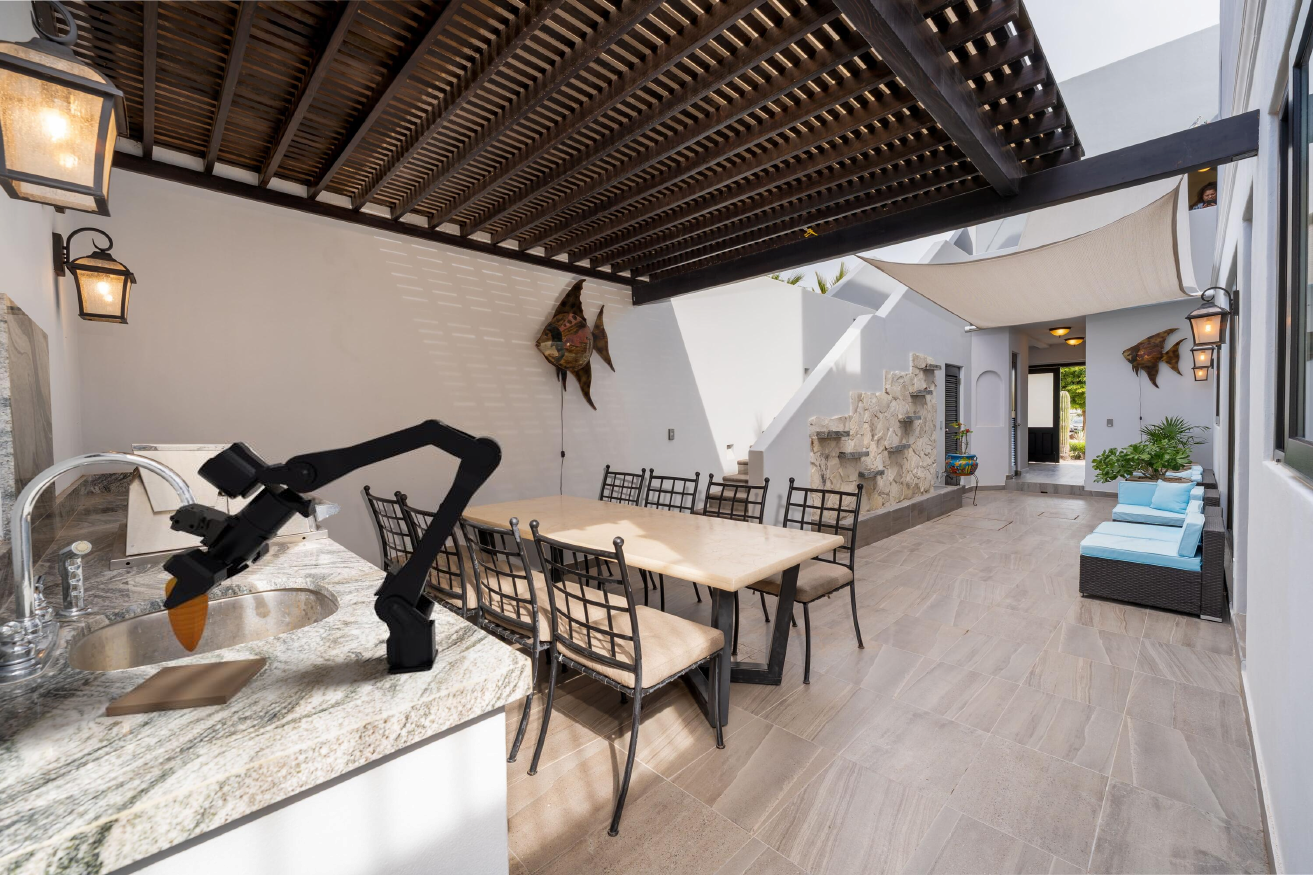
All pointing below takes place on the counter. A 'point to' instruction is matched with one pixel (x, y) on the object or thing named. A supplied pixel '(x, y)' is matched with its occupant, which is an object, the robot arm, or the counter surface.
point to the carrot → (188, 618)
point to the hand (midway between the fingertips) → (177, 601)
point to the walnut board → (188, 686)
